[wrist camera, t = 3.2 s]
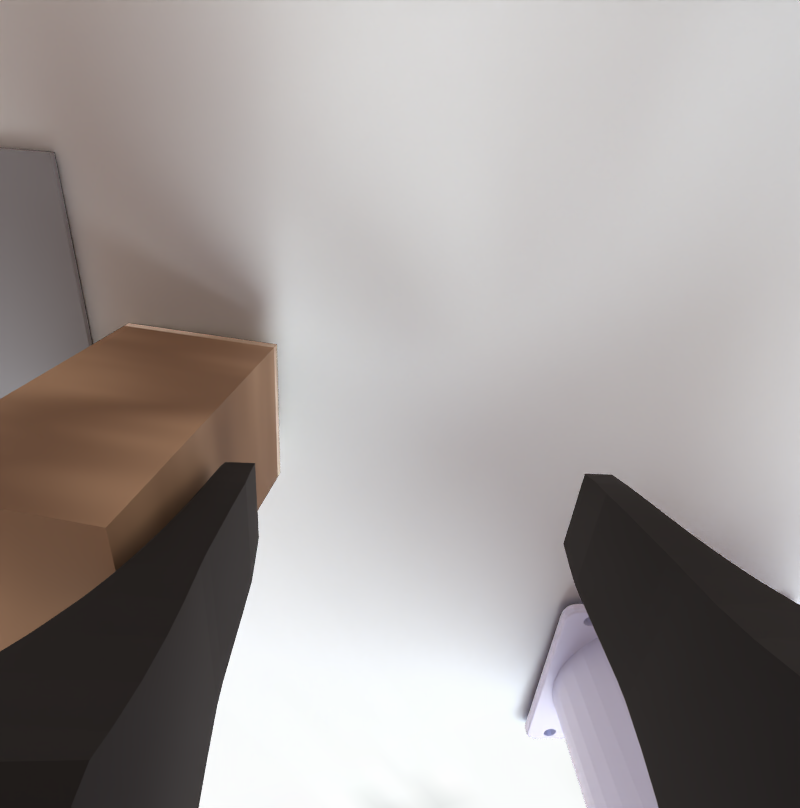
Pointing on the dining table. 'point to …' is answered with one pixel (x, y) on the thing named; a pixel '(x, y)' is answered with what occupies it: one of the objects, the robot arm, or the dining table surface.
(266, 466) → the walnut block
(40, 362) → the slate mat
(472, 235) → the dining table surface
